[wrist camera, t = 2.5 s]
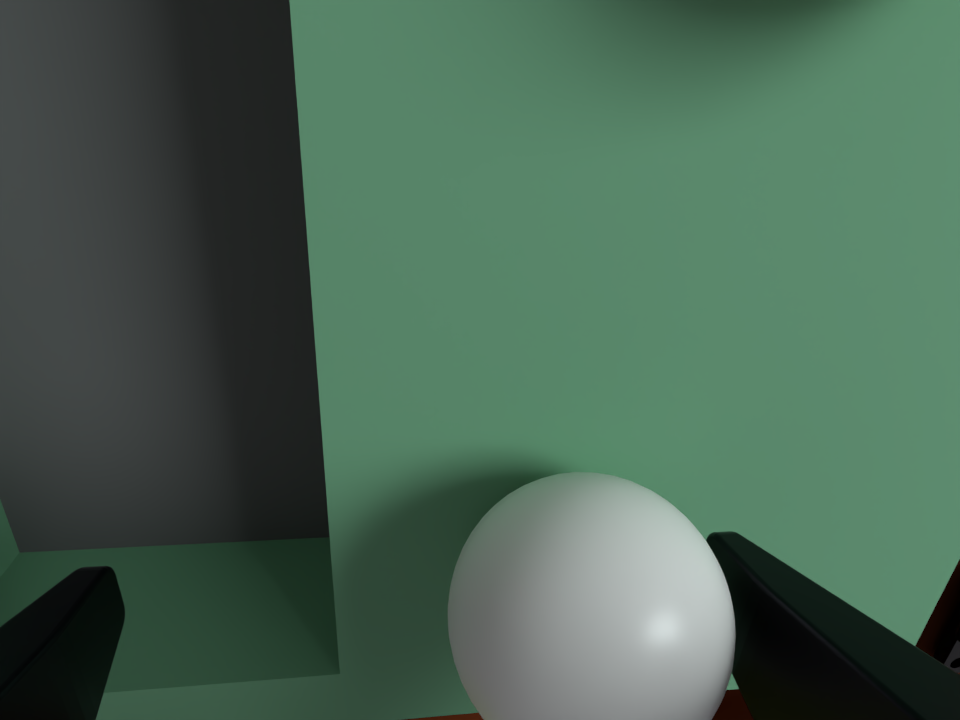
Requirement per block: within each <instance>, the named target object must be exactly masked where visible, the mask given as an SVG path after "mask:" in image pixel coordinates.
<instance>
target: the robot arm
mask: <svg viewBox="0 0 960 720" xmlns="http://www.w3.org/2000/svg"><path fill="white" fill-rule="evenodd" d="M706 542H707V543H708V545H709V547H710V548H711V550H712V552H713V553H714V555H715V557H716V559H717V561H718V563H719V565H720V567H721V569H722V571H723V574H724V576H725V579H726V582H727V585H728V588H729V592H730V595H731V600H732V604H733V610H734V616H735V627H736V641H735V654H734V662H733V669H732V675H733V677H734V679H735V681H736V684H737V686H738V688H739V690H740V692H741V694H742V696H743V698H744V701H745V703H746V705H747V707H748V709H749V711H750V713H751V715H752V717H753V719H754V720H960V674H958V673H960V607H959V608H958V610H957V612H956V614H955V616H954V618H953V620H952V622H951V623H950V625H949V627H948V629H947V631H946V633H945V635H944V636H943V638H942V640H941V642H940V644H939V646H938V648H937V650H936V651H935V653H934V657H931V656H930V655H928V654H927V653H925V652H924V651H922V650H920V649H919V648H917V647H916V646H914V645H913V644H911V643H909V642H908V641H906V640H905V639H903V638H902V637H900V636H898V635H897V634H895V633H894V632H892V631H891V630H889V629H888V628H886V627H884V626H883V625H881V624H880V623H878V622H877V621H875V620H873V619H872V618H870V617H869V616H867V615H866V614H864V613H862V612H861V611H859V610H858V609H856V608H855V607H853V606H851V605H850V604H848V603H847V602H845V601H844V600H842V599H841V598H839V597H837V596H836V595H834V594H833V593H831V592H830V591H828V590H826V589H825V588H823V587H822V586H820V585H819V584H817V583H815V582H814V581H812V580H811V579H809V578H808V577H806V576H804V575H803V574H801V573H800V572H798V571H797V570H795V569H794V568H792V567H790V566H789V565H787V564H786V563H784V562H783V561H781V560H779V559H778V558H776V557H775V556H773V555H772V554H770V553H768V552H767V551H765V550H764V549H762V548H761V547H759V546H757V545H756V544H754V543H753V542H751V541H750V540H748V539H746V538H745V537H743V536H742V535H740V534H738V533H737V532H733V531H724V532H713V533H710V534H709V535H708V537H707V539H706ZM124 620H125V606H124V602H123V599H122V595H121V591H120V588H119V584H118V581H117V577H116V574H115V571H114V570H113V569H112V568H111V567H109V566H93V567H82V568H79V569H77V570H75V571H73V572H72V573H71V574H69V575H68V576H67V577H65V578H64V579H63V580H61V581H60V582H59V583H57V584H56V585H55V586H53V587H52V588H51V589H49V590H48V591H47V592H45V593H44V594H43V595H41V596H40V597H39V598H37V599H36V600H35V601H33V602H32V603H31V604H30V605H28V606H27V607H26V608H24V609H23V610H22V611H20V612H19V613H18V614H16V615H15V616H14V617H12V618H11V619H10V620H8V621H7V622H6V623H4V624H3V625H2V626H0V720H96V717H97V714H98V711H99V707H100V704H101V700H102V697H103V694H104V690H105V687H106V683H107V680H108V677H109V673H110V670H111V666H112V663H113V660H114V656H115V653H116V649H117V646H118V642H119V639H120V636H121V632H122V629H123V625H124Z"/></svg>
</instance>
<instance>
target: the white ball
mask: <svg viewBox="0 0 960 720" xmlns="http://www.w3.org/2000/svg"><path fill="white" fill-rule="evenodd" d="M448 631H449V640H450V645H451V650H452V654H453V659H454V663H455V665H456V668H457V671H458V674H459V677H460V680H461V682H462V684H463V686H464V688H465V690H466V692H467V694H468V696H469V698H470V700H471V702H472V703H473V705H474V706H475V708H476V709H477V711H478V712H479V714H480V715H481V717H482V718H483V719H484V720H712V718H713V717H714V715H715V713H716V711H717V709H718V708H719V706H720V704H721V702H722V700H723V697H724V695H725V692H726V689H727V686H728V683H729V680H730V677H731V673H732V669H733V662H734V654H735V641H736V627H735V616H734V610H733V604H732V600H731V595H730V592H729V588H728V585H727V582H726V579H725V576H724V574H723V571H722V569H721V567H720V565H719V563H718V561H717V559H716V557H715V555H714V553H713V552H712V550H711V548H710V547H709V545H708V543H707V542H706V540H705V539H704V537H703V536H702V535H701V533H700V532H699V531H698V530H697V529H696V527H695V526H694V525H693V524H692V523H691V521H690V520H689V519H688V518H687V517H686V516H685V515H684V514H682V513H681V512H680V511H679V510H678V509H677V508H676V507H675V506H673V505H672V504H671V503H670V502H668V501H667V500H666V499H664V498H662V497H661V496H659V495H658V494H656V493H655V492H653V491H651V490H649V489H647V488H645V487H643V486H641V485H639V484H637V483H634V482H632V481H630V480H627V479H623V478H620V477H617V476H613V475H607V474H601V473H594V472H570V473H561V474H556V475H552V476H548V477H544V478H541V479H538V480H536V481H533V482H531V483H528V484H526V485H523V486H522V487H520V488H518V489H516V490H515V491H513V492H511V493H510V494H508V495H507V496H505V497H504V498H503V499H502V500H500V501H499V502H498V503H496V504H495V505H494V506H493V507H492V508H491V509H490V510H489V511H488V512H487V513H486V514H485V515H484V516H483V518H482V519H481V520H480V522H479V523H478V524H477V526H476V527H475V528H474V530H473V531H472V532H471V534H470V536H469V537H468V539H467V541H466V543H465V545H464V546H463V548H462V551H461V553H460V556H459V558H458V561H457V563H456V566H455V569H454V573H453V577H452V581H451V585H450V592H449V600H448Z"/></svg>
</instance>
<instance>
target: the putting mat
mask: <svg viewBox="0 0 960 720" xmlns="http://www.w3.org/2000/svg"><path fill="white" fill-rule="evenodd" d="M570 472H594V473H601V474H607V475H613V476H617V477H620V478H623V479H627V480H630V481H632V482H634V483H637V484H639V485H641V486H643V487H645V488H647V489H649V490H651V491H653V492H655V493H656V494H658V495H659V496H661V497H662V498H664V499H666V500H667V501H668V502H670V503H671V504H672V505H673V506H675V507H676V508H677V509H678V510H679V511H680V512H681V513H682V514H684V515H685V516H686V517H687V518H688V519H689V520H690V521H691V523H692V524H693V525H694V526H695V527H696V529H697V530H698V531H699V532H700V533H701V535H702V536H703V537H704V539H705V540H706V539H707V537H708V535H709V534H710V533H713V532H724V531H733V532H737V533H738V534H740V535H742V536H743V537H745V538H746V539H748V540H750V541H751V542H753V543H754V544H756V545H757V546H759V547H761V548H762V549H764V550H765V551H767V552H768V553H770V554H772V555H773V556H775V557H776V558H778V559H779V560H781V561H783V562H784V563H786V564H787V565H789V566H790V567H792V568H794V569H795V570H797V571H798V572H800V573H801V574H803V575H804V576H806V577H808V578H809V579H811V580H812V581H814V582H815V583H817V584H819V585H820V586H822V587H823V588H825V589H826V590H828V591H830V592H831V593H833V594H834V595H836V596H837V597H839V598H841V599H842V600H844V601H845V602H847V603H848V604H850V605H851V606H853V607H855V608H856V609H858V610H859V611H861V612H862V613H864V614H866V615H867V616H869V617H870V618H872V619H873V620H875V621H877V622H878V623H880V624H881V625H883V626H884V627H886V628H888V629H889V630H891V631H892V632H894V633H895V634H897V635H898V636H900V637H902V638H903V639H905V640H906V641H908V642H909V643H911V644H913V645H914V646H915V645H916V643H917V641H918V639H919V637H920V636H921V634H922V632H923V630H924V628H925V626H926V624H927V622H928V620H929V618H930V616H931V614H932V612H933V610H934V608H935V606H936V604H937V602H938V600H939V598H940V596H941V594H942V593H943V591H944V589H945V587H946V585H947V583H948V581H949V579H950V577H951V575H952V573H953V571H954V569H955V567H956V565H957V563H958V561H959V559H960V0H0V626H2V625H3V624H4V623H6V622H7V621H8V620H10V619H11V618H12V617H14V616H15V615H16V614H18V613H19V612H20V611H22V610H23V609H24V608H26V607H27V606H28V605H30V604H31V603H32V602H33V601H35V600H36V599H37V598H39V597H40V596H41V595H43V594H44V593H45V592H47V591H48V590H49V589H51V588H52V587H53V586H55V585H56V584H57V583H59V582H60V581H61V580H63V579H64V578H65V577H67V576H68V575H69V574H71V573H72V572H73V571H75V570H77V569H79V568H82V567H93V566H109V567H111V568H112V569H113V570H114V571H115V574H116V577H117V581H118V584H119V588H120V591H121V595H122V599H123V602H124V606H125V620H124V625H123V629H122V632H121V636H120V639H119V642H118V646H117V649H116V653H115V656H114V660H113V663H112V666H111V670H110V673H109V677H108V680H107V683H106V687H105V690H104V694H103V697H102V700H101V704H100V707H99V711H98V714H97V717H96V720H401V719H412V718H424V717H435V716H446V715H457V714H468V713H479V712H478V711H477V709H476V708H475V706H474V705H473V703H472V702H471V700H470V698H469V696H468V694H467V692H466V690H465V688H464V686H463V684H462V682H461V680H460V677H459V674H458V671H457V668H456V665H455V663H454V659H453V654H452V650H451V645H450V640H449V631H448V600H449V592H450V585H451V581H452V577H453V573H454V569H455V566H456V563H457V561H458V558H459V556H460V553H461V551H462V548H463V546H464V545H465V543H466V541H467V539H468V537H469V536H470V534H471V532H472V531H473V530H474V528H475V527H476V526H477V524H478V523H479V522H480V520H481V519H482V518H483V516H484V515H485V514H486V513H487V512H488V511H489V510H490V509H491V508H492V507H493V506H494V505H495V504H496V503H498V502H499V501H500V500H502V499H503V498H504V497H505V496H507V495H508V494H510V493H511V492H513V491H515V490H516V489H518V488H520V487H522V486H523V485H526V484H528V483H531V482H533V481H536V480H538V479H541V478H544V477H548V476H552V475H556V474H561V473H570ZM733 689H739V688H738V686H737V684H736V681H735V679H734V677H733V675H732V673H731V677H730V680H729V683H728V686H727V689H726V690H733Z"/></svg>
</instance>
